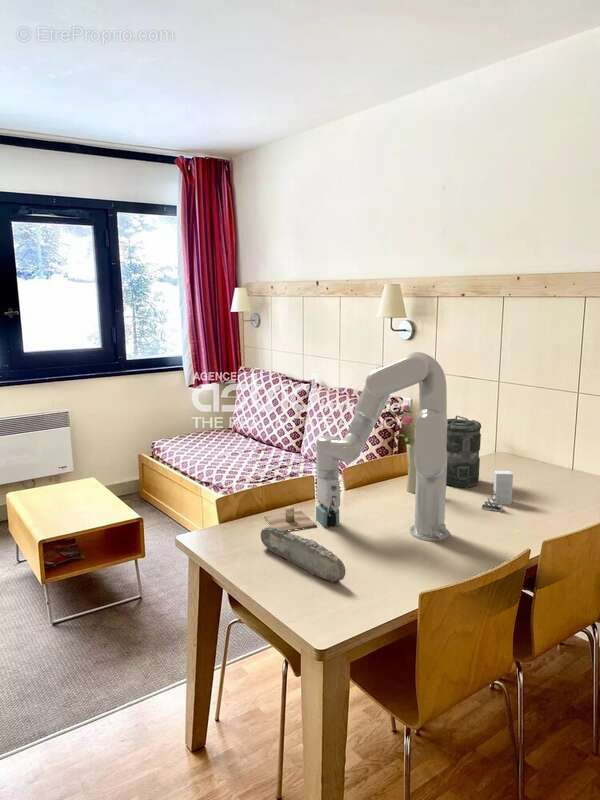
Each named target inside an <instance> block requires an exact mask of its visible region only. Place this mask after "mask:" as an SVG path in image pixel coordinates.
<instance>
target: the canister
mask: <svg viewBox="0 0 600 800" xmlns="http://www.w3.org/2000/svg"><path fill="white" fill-rule="evenodd" d="M447 422H448V425H447V446H446V450H447V474H446V486H452V487H459V488H460V487H461V488H466V489H467V488H473V487H475V486H476V485H478V483H479V481H480V465H481V463H480V462H481V461H480V460H481V458H480V450H481V440H482V437H481V436H482V434H481V429H482V424H481V422H480V421H477V420H475V419H472V420H471V419H468V418H467V417H464V416H461V415H458V414H456V415H455V418H447Z"/></svg>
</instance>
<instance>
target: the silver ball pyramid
mask: <svg viewBox="0 0 600 800" xmlns="http://www.w3.org/2000/svg"><path fill="white" fill-rule="evenodd" d="M492 492H494V489H493V490H492ZM489 495H490V497H488V498H487V500H486V501H484V503H483V504H482V506H481V510H485V511H491V512H496V513H497V512H498V513H502V512H504V507H503V504H501V503H500V502H499V500H498V499H493V498H492V497H493V495H496V493H495V492H494V494H493V493H490V494H489ZM495 500H496V501H498V503H496V501H495Z"/></svg>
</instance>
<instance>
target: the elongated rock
mask: <svg viewBox="0 0 600 800" xmlns="http://www.w3.org/2000/svg"><path fill="white" fill-rule="evenodd" d="M260 540H261V543H262V545H264V546H265V548H266V549H267V550H269V551H270V552H271V553H273V554H275V555H277V556H279V557H280V558H282V557H283V558H282V559H284V558H285V559H284V560H286V559H287V560H286V561H287V562H289V563H292V564H293V565H296V566H298V567H299V568H300V569H301V570H304V571H306V572H307V573H309V574H310V575H311V576H317V577H319V578H321V579H323V580H326V581H328V582H331V584H332V583H333V584H334V583H336V582H340V581H342V580H344V578H345V577H346V572H347V571H346V566H345V564H344V562H343V561H342V560H341V558H339V557H338V555H336V554H334V553H333V551H331V550H329V549H327V548H326V547H325V546H323V545H320V544H318V542H316V540H313V539H308V538H304V537H303V536H300V535H297V534H294V533H291V532H290V531H289V532H287V531H285V530H280V529H278V528H276V527H272V526H268V527H267V526H266V527H264V528H262V529H261V531H260Z"/></svg>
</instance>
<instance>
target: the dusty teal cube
mask: <svg viewBox="0 0 600 800" xmlns="http://www.w3.org/2000/svg"><path fill="white" fill-rule="evenodd" d="M331 506H333V505H330V507H331ZM332 510H333V508H331V509H330V511H332ZM327 516H328V510H327V507H325V506H324V505H322V506H319V505H317V506H316V507H315V521H316V522H317V521H318V522H319V523H320V524H321V525H322V526H321V525H320V524H319V523H318V522H317V523H318V524H319V525H320V526H321V527H322V528H325V527H324V526H327ZM337 524H339V525H340V510H339V511H338V512H337V515H336V526H338V525H337Z"/></svg>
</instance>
